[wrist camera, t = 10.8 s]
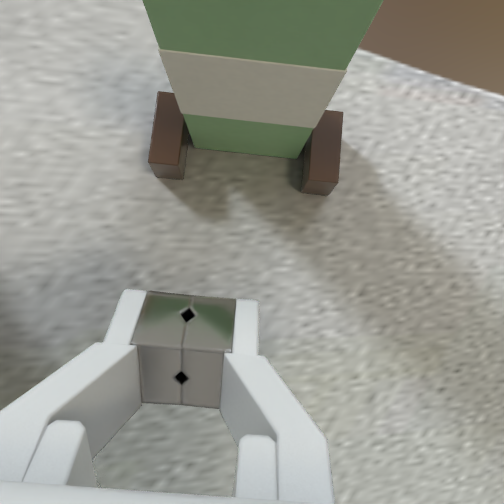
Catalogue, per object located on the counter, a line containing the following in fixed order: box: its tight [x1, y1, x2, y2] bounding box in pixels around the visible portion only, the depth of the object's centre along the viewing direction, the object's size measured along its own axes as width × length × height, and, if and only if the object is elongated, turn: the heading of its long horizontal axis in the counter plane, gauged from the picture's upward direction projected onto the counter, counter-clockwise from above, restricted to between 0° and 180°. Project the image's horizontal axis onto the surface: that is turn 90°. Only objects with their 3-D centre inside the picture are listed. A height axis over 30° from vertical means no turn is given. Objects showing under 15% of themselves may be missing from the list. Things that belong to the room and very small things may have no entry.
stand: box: [148, 91, 343, 196], centre depth 25 cm, size 4×10×2 cm, turn 84°
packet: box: [143, 0, 383, 159], centre depth 19 cm, size 16×6×3 cm
